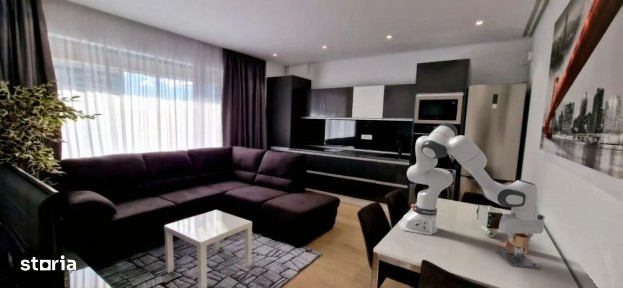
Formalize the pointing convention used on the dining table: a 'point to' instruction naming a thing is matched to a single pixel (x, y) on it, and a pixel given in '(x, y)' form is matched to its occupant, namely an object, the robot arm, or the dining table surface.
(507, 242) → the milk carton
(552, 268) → the dining table surface
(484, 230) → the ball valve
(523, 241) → the wooden faceted bowl
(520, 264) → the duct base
